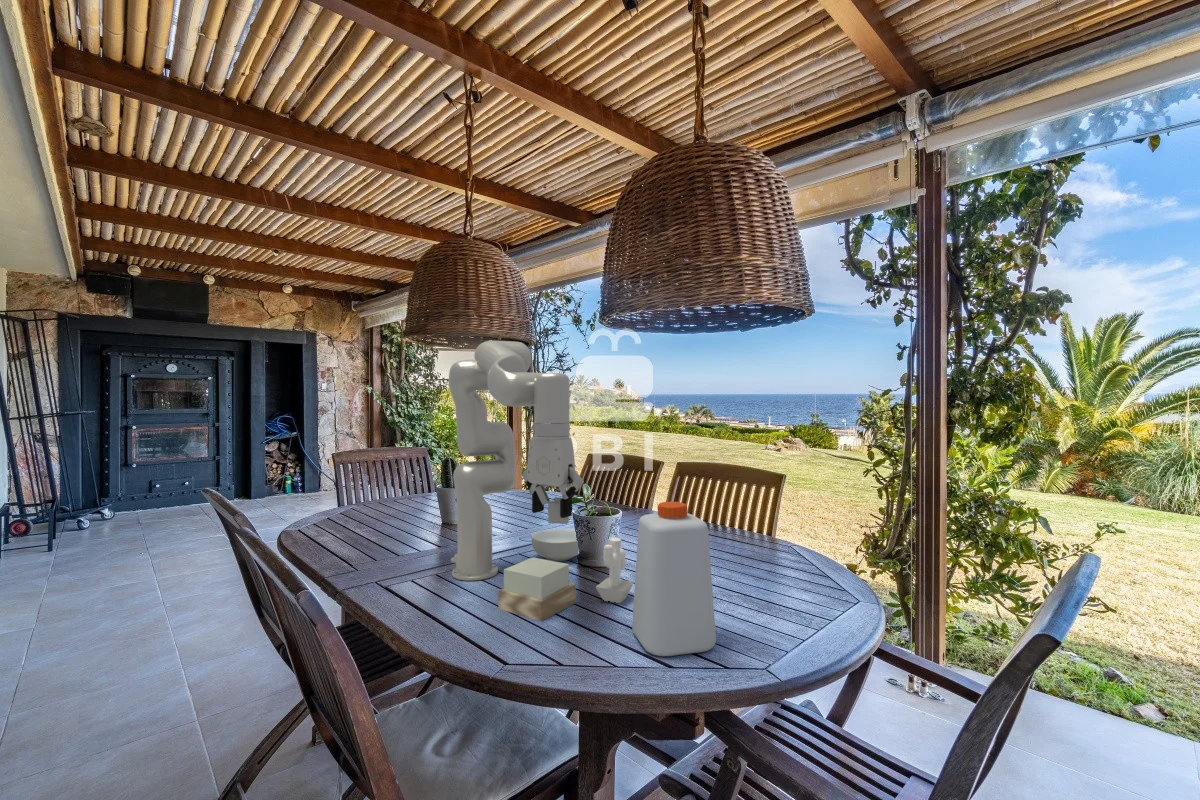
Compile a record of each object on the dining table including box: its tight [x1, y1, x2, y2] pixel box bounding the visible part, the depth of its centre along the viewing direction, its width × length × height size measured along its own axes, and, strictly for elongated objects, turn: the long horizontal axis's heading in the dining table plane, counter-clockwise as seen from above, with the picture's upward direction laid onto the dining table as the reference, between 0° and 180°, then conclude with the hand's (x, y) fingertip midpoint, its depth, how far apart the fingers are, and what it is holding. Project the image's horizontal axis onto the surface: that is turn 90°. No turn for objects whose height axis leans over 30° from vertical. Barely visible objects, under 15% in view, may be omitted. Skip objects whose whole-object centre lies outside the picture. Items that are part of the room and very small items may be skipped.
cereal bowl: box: [531, 528, 579, 562], centre depth 170 cm, size 17×17×7 cm
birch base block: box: [497, 582, 577, 622], centre depth 132 cm, size 13×13×5 cm
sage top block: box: [503, 557, 570, 600], centre depth 132 cm, size 11×11×5 cm
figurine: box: [595, 536, 635, 604], centre depth 136 cm, size 7×9×15 cm
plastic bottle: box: [631, 501, 717, 657], centre depth 114 cm, size 15×15×28 cm
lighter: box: [535, 485, 570, 525], centre depth 118 cm, size 7×2×8 cm, turn 79°
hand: (551, 513), depth 118 cm, fingers closed on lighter, 7 cm apart
